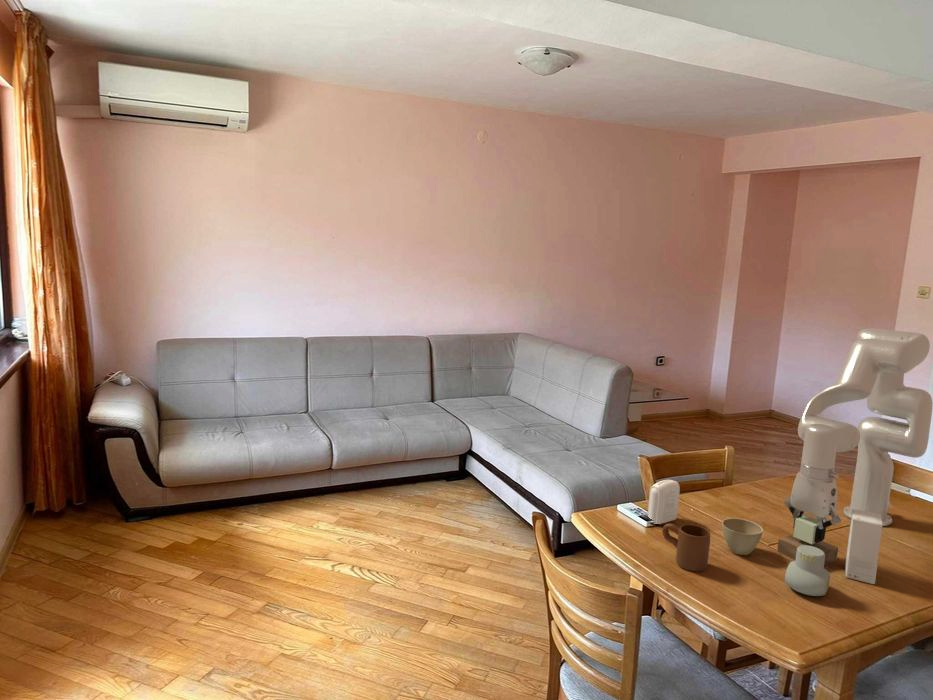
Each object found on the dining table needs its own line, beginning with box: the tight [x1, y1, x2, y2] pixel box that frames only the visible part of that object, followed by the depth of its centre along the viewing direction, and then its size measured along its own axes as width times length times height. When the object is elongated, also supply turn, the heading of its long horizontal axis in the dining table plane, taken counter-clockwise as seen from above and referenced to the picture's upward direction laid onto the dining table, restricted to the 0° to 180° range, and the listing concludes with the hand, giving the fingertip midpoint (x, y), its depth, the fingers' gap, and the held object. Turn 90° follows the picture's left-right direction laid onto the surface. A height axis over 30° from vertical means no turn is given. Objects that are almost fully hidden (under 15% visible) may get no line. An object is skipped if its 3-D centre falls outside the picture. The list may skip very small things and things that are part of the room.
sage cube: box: [792, 514, 818, 544], centre depth 164 cm, size 5×5×5 cm
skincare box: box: [845, 509, 883, 585], centre depth 155 cm, size 8×7×16 cm
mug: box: [661, 523, 711, 573], centre depth 158 cm, size 12×8×9 cm, turn 50°
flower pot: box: [721, 517, 764, 556], centre depth 166 cm, size 10×10×7 cm
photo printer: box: [646, 479, 681, 525], centre depth 182 cm, size 10×4×12 cm, turn 123°
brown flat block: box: [776, 534, 839, 566], centre depth 164 cm, size 10×10×4 cm
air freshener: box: [784, 545, 831, 597], centre depth 147 cm, size 11×8×10 cm
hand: (808, 536), depth 164 cm, fingers closed on sage cube, 4 cm apart
